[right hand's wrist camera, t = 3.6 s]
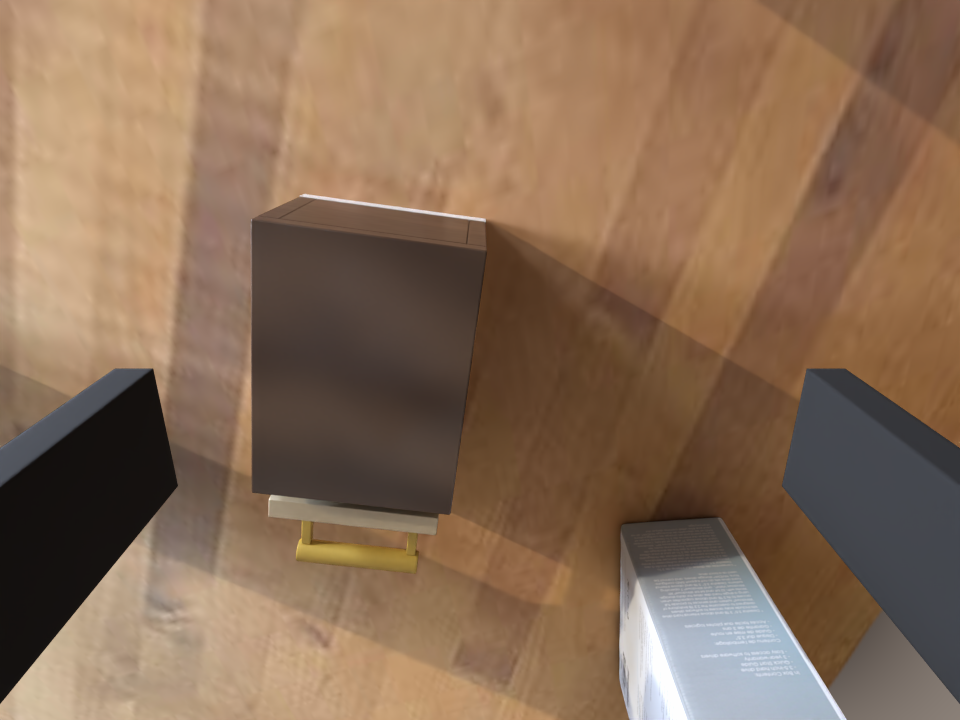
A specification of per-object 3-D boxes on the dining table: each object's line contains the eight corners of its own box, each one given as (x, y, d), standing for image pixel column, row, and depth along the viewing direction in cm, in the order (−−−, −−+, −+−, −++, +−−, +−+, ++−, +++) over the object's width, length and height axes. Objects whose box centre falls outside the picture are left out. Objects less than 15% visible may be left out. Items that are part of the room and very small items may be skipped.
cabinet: (456, 434, 42) (450, 515, 33) (297, 415, 41) (251, 493, 33) (485, 218, 37) (487, 250, 28) (304, 194, 36) (250, 218, 28)
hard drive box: (712, 672, 50) (850, 1003, 31) (617, 678, 50) (698, 1010, 32) (724, 512, 44) (901, 801, 26) (617, 519, 44) (715, 811, 26)
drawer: (434, 535, 44) (426, 611, 37) (300, 521, 43) (267, 594, 37) (467, 278, 37) (465, 314, 30) (308, 257, 36) (270, 289, 30)
